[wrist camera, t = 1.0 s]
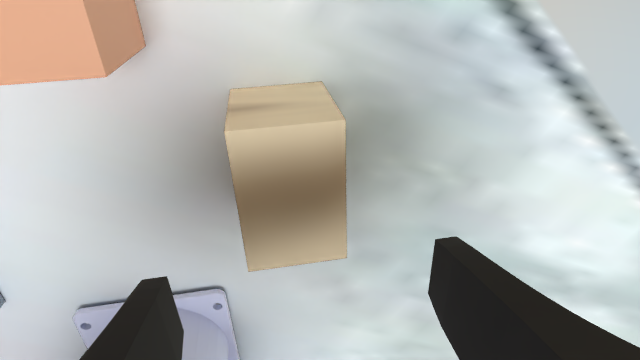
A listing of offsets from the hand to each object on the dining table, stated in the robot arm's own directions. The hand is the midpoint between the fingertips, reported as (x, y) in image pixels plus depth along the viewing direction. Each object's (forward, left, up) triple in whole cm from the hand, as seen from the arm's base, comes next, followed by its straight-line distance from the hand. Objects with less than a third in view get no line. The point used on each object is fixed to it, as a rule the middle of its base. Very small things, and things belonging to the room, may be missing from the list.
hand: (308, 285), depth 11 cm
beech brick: (0, 0, -9) cm, 9 cm away
